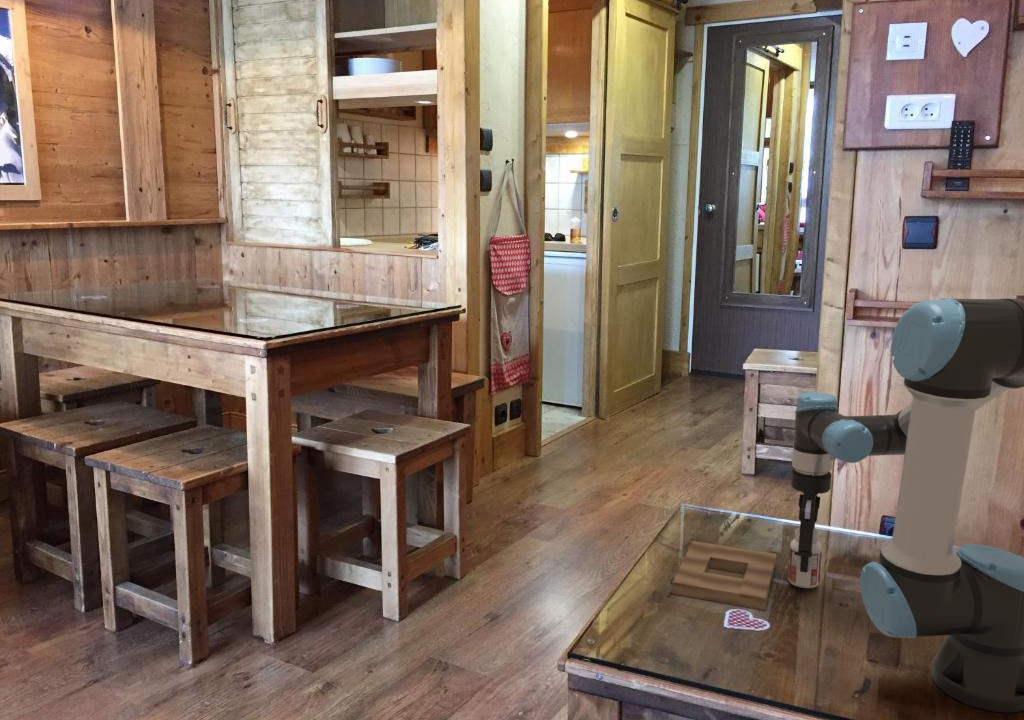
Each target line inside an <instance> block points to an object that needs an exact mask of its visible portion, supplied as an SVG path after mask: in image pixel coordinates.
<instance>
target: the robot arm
mask: <svg viewBox="0 0 1024 720" xmlns="http://www.w3.org/2000/svg"><path fill="white" fill-rule="evenodd" d="M891 339H892V340H891V346H890V347H891V349H890V352H891V356H892V357H893V360H892V363H893V366H894V369H895V370H896V372H897V373H898V374H899V375H900V376H901V377H902V378H904V380H903V386H904V387H905V388H906V389H907V391H908V392H909V393H910V394H911V396H912V401H911V402H909V404H907V405H906V406H904V408H902V409H901V410H900V411H898V412H897V413H895V414H881V415H880V414H879V415H878V414H877V415H843V414H841V413H839V412H838V410H839V409H838V401H837V397H836V396H835V395H833V394H830V393H826V392H815V391H808V392H803V393H801V394H799V395H798V397H797V399H796V407H795V411H794V414H795V418H794V437H793V447H792V458H791V459H792V462H791V466H792V467H793V468H792V470H791V479H790V480H791V481H790V485H791V486H790V487H791V488H792V489H794V490H795V491H798V492H801V493H803V494H799V498H798V507H799V511H798V512H799V513H798V520H799V521H800V523H799V528H800V535H799V548H798V552H795V553H794V555H798V559H797V573H796V585H801V586H807V587H810V579H811V566H812V542H813V530H814V529H815V528H816V523H817V521H818V514H819V509H820V504H821V496H818V495H819V494H820V495H822V494H826V493H829V492H830V490H831V488H832V487H831V486H832V472H830V471H832V469H833V461H836V460H839V461H842V462H845V463H849V464H855V463H858V462H861V461H862V460H865V459H866V458H867V457H872V456H873V457H874V456H875V457H877V456H878V457H879V456H904V457H903V462H902V469H901V477H900V485H899V490H898V498H897V504H896V505H897V506H896V511H895V521H894V527H893V532H892V537H891V538H889V539H887V540H885V541H884V542H882V544H881V546H880V549H879V557H878V561H870V562H869V563H866V564H865V565H864V566H863V567H862V568H861V571H860V576H859V577H860V578H859V586H860V594H861V599H862V601H863V605H864V608H865V611H866V612H867V615H868V617H869V619H870V620H871V622H872V623H873V625H874V626H875V627H876V628H877V630H878V631H880V632H881V634H883V635H885V636H888V637H889V638H908V639H915V638H919V637H922V638H924V637H935V636H939V637H940V636H945V638H944V640H943V642H942V644H941V646H940V647H939V649H938V651H937V652H936V655H935V657H934V658H933V661H932V668H931V678H932V680H933V682H934V683H935V685H936V687H938V689H940V690H942V692H943V693H945V694H947V695H948V696H949V697H951V698H953V699H954V700H957V701H959V702H961V703H963V704H966V705H968V706H971V707H974V708H977V709H980V710H985V711H990V712H996V713H997V712H998V713H1018V712H1022V711H1024V558H1023V557H1022V556H1020V555H1018V554H1015V553H1013V552H1011V551H1008V550H1006V549H1005V550H1004V549H1002V548H999V547H994V546H990V545H986V544H978V543H965V544H962V545H960V546H959V547H958V550H957V551H956V552H955V551H954V546H955V545H954V543H955V537H956V532H957V525H958V519H959V513H960V508H961V507H960V506H961V502H962V501H961V500H962V495H963V489H964V482H965V478H966V477H965V476H966V472H967V471H966V470H967V465H968V458H969V453H970V448H971V447H970V446H971V439H972V433H973V429H974V428H973V427H974V423H975V416H976V412H977V411H978V410H980V409H981V408H982V407H984V406H985V405H987V404H988V403H990V402H992V401H993V400H994V399H996V398H998V397H999V396H1001V395H1002V394H1003V393H1004V392H1006V391H1008V390H1017V389H1022V388H1024V300H1022V299H1020V298H947V297H944V298H938V299H931V300H924V301H923V300H922V301H919V302H917V303H914V304H912V305H911V306H910V307H909V308H908V309H907V310H905V311H904V312H903V313H902V315H901V316H900V318H899V319H898V322H897V324H896V325H895V328H894V332H893V334H892V338H891Z"/></svg>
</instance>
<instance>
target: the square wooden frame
mask: <svg viewBox="0 0 1024 720" xmlns="http://www.w3.org/2000/svg"><path fill="white" fill-rule="evenodd" d="M776 565H777V553H771V552H767V551H766V552H765V551H759V550H753V549H746V548H739V547H733V546H727V545H721V544H720V545H719V544H715V543H708V542H701V541H695V540H692V541H691V543H690V546H689V548H688V550H687V552H686V554H685V556H684V558H683V560H682V562H681V564H680V566H679V568H678V570H677V572H676V574H675V576H674V579H673V580H672V588H671V595H672V594H673V595H678V596H683V597H689V598H693V599H700V600H703V601H710V602H717V603H722V604H726V605H732V606H738V607H744V608H750V609H755V610H761V611H766V606H767V602H768V598H769V594H770V591H771V586H772V583H773V582H772V581H773V578H774V574H775V571H776ZM710 569H715V570H720V571H727V572H731V573H732V572H733V573H738V574H739V573H740V574H743V575H744V577H743V578H740V577H735V576H729V575H723V574H719V573H718V574H716V573H711V572H709V571H710Z"/></svg>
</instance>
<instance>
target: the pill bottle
mask: <svg viewBox="0 0 1024 720" xmlns="http://www.w3.org/2000/svg"><path fill="white" fill-rule="evenodd" d="M799 535H800V527H797V528H795V530H794V539H792V540H791V541H790V545H789V558H788V560H789V561H788V575H787V579H788V582H789V583H790V584H791V585H793V586H795V587H799V588H804V589H813V588H816V587H818V586H819V584H820V582H821V570H822V569H821V568H822V556H823V546H822V544H821V543H820V541H819V540H820V532H819V530H817V529H814V530H813V542H812V566H811V579H810V587H807V586H801V585H796V573H797V559H798V555H794V553H795V552H798V548H799Z"/></svg>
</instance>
